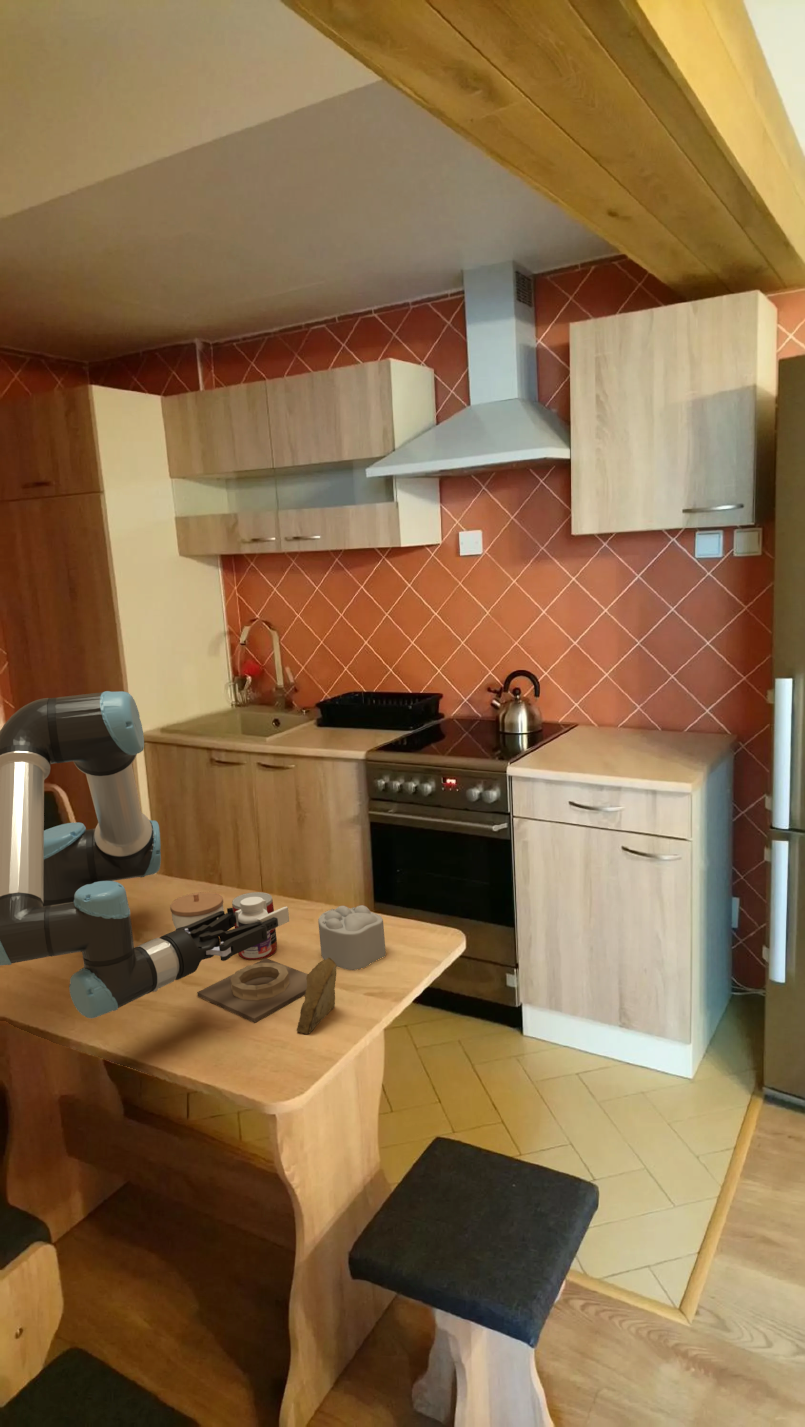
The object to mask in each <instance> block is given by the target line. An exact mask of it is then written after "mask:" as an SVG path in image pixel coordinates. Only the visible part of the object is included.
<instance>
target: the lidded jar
mask: <svg viewBox="0 0 805 1427" xmlns="http://www.w3.org/2000/svg"><path fill="white" fill-rule="evenodd" d="M169 906H170V907H169V908H170V909H169V910H170V912H171V913H170V914H171V918H172V919H171V920H172V923H173V926H174V928H175V930H176V929H177V928H180V927H184V926H187V925H190V924H192V923H194V922H197V921H199V920H201V919H203V918H206V917H208V916H210V915H212V914H215V913H217V912H219V911H224V912H225V910H224V897H223V895H222V894H220V893H217V892H213V891H201V892H200V891H199V892H193V893H188V894H185V895H182V896H180V897H179V896H178V897H177V898H175V899H174V900H173V901H172V902H171V903H170V905H169ZM217 919H218V918H217Z"/></svg>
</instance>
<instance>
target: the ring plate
mask: <svg viewBox="0 0 805 1427" xmlns="http://www.w3.org/2000/svg"><path fill="white" fill-rule="evenodd" d="M308 974H309V973H306V972H304V971H300V970H299V969H295V968H293V967H291V966H288V965H285V964H282V963H280V962H277V961H274V960H272V959H270V958H268V957H266V958H263V959H260V960H259V961H256V962H255V963H252V964H248V965H246V966H245V967H242V968H240V969H238V970H236V971H235V972H234V973H233V974H231V975H229V976H227V977H225V978H222V979H221V980H219V981H216V982H215V983H213V984H210V985H209V986H206V987H204V988H202V989H201V990H199V991H197V993H196V994H197V997H198V998H201V999H203V1000H205V1001H206V1002H209V1003H211V1004H213V1005H215V1006H217V1007H219V1008H222V1009H224V1010H226V1011H228V1012H231V1013H232V1014H234V1015H237V1016H239V1017H241V1018H244V1019H246V1020H248V1021H249V1022H252V1023H254V1024H255V1023H258V1022H259V1021H261V1020H263V1019H265V1018H266V1017H268V1016H269V1015H272V1014H273V1013H276V1012H277V1011H279V1010H280V1009H282V1008H284V1007H286V1006H288V1005H289V1004H291V1003H292V1002H294V1001H295V1002H296V1001H297V1000H298V999H300V998H302V997H305V993H306V988H307V980H306V977H307V975H308Z"/></svg>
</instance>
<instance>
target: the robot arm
mask: <svg viewBox="0 0 805 1427" xmlns="http://www.w3.org/2000/svg"><path fill="white" fill-rule="evenodd" d="M140 717H141V716H140V712H139V709H138V706H137V704H136V701H135V698H134V697H133V696H132V695H131V693H129V692H127V691H122V690H121V691H119V690H118V691H110V690H106V691H101V692H95V693H94V692H93V693H86V694H85V693H84V694H78V695H77V694H76V695H69V696H68V695H67V696H59V697H46V698H45V697H44V698H40V699H36V700H34V701H31V702H29V703H27V704H25V705H24V706H22V707H20V708H19V709H18V710H17V711H15V712H14V713H13V714H12V715H11V716H10V717H9V718H8V719H7V720H6V722H5V723H4V725H3V726H2V728H1V729H0V966H11V965H12V964H16V963H21V962H28V961H32V960H38V959H43V958H49V957H56V956H62V955H71V954H76V953H81V954H82V959H83V960H82V961H83V968H81V969H79V970H78V971H76V972H73V974H72V975H71V977H70V980H69V986H68V988H69V995H70V999H71V1000H72V1003H73V1005H74V1007H75V1009H76V1011H77V1012H79V1013H80V1014H81V1016H82V1017H83V1016H84V1017H85V1018H87V1019H96V1018H99V1017H101V1016H102V1015H107V1014H108V1013H110V1012H116V1011H117V1010H118V1009H119V1008H122V1007H123V1006H125V1005H128V1004H129V1003H131V1002H133V1001H135V1000H137V999H140V998H141V997H144V996H146V995H148V994H150V993H155V992H157V991H158V990H159V989H161V988H163V987H165V986H167V985H170V984H171V983H173V982H175V981H179V980H181V979H183V978H185V977H187V976H189V975H191V974H193V973H195V972H197V969H198V967H199V966H200V964H201V962H202V960H207V959H211V958H213V957H214V956H219V957H220V958H219V959H220V961H221V962H225V961H227V960H229V959H231V957H233V956H235V955H237V954H239V952H242V951H244V950H246V949H248V948H250V947H253V946H255V945H257V944H259V943H262V942H264V941H266V940H267V932H268V931H270V930H272V929H274V928H278V927H280V926H282V925H285V924H286V923H289V922H290V913H289V912H290V911H289V907H288V906H283V907H281V908H279V909H275V910H274V912H271V913H269V914H267V915H265V916H262V917H260V918H258V919H257V922H255V923H251V924H248V925H245V926H241V927H238V928H235V923H236V925H237V926H239V925H238V915H239V914H240V913H241V912H242V911H241V909H240V910H238V911H235V912H233V908H232V907H228V908H226V910H227V912H226V913H225V910H224V911H219V912H217V913H215V914H212V915H210V916H208V917H206V918H203V919H201V920H199V921H197V922H194V923H192V924H190V925H187V926H184V927H180V928H177V929H176V928H175V930H174V931H173V930H172V931H170V932H168V933H166V934H163V935H161V936H159V937H156V938H153V939H151V940H148V941H147V942H144V943H141V944H140V945H138V946H135V943H134V936H133V928H132V918H131V910H130V909H131V908H130V906H129V902H128V897H127V892H126V888H125V887H124V885H123V884H122V883H120V882H118V881H122V880H128V879H135V878H137V879H138V878H145V877H147V876H152V875H156V874H157V873H158V872H159V871H160V868H161V863H162V862H161V861H162V856H161V854H162V853H161V851H162V850H161V832H160V831H161V830H160V825H159V822H158V821H157V820H151V819H149V818H148V816H147V815H146V814H144V813H143V812H142V810H141V808H142V807H141V804H140V798H139V794H138V788H137V784H136V777H135V774H134V768H133V763H134V762H135V760H136V757H137V755H138V754H141V753H142V752H143V751H144V748H145V737H144V736H145V735H144V730H143V724H142V720H141V718H140ZM70 762H72V763H73V764H74V765H75V767H76V768H77V769H78V770H79V771H80V772H81V773H83V774H85V777H86V780H87V784H88V787H89V792H90V795H91V796H90V797H91V799H92V803H93V807H94V810H95V815H96V818H97V825H96V826H95V828H91V829H87V828H86V826H85V824H84V823H82V822H79V821H78V822H67V823H62V824H59V825H56V826H53V827H50V828H47V829H45V828H44V826H45V822H44V821H45V816H44V815H45V814H44V813H45V780H46V779H47V778H48V777H49V775H50V774H51V765H53V764H61V763H63V764H64V763H70ZM44 829H45V830H44ZM263 904H264V907H263V909H265V910H266V911H267V906H266V900H263ZM217 918H218V919H217Z"/></svg>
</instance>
